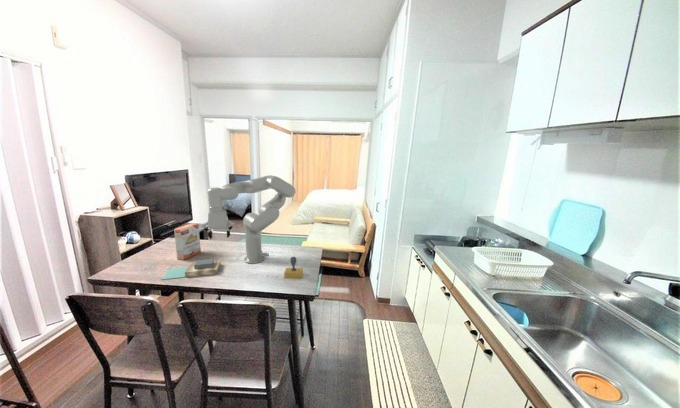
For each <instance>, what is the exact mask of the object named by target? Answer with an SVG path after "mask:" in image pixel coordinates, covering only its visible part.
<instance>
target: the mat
mask: <svg viewBox="0 0 680 408" xmlns="http://www.w3.org/2000/svg"><path fill="white" fill-rule="evenodd" d="M188 267H189V266H186V267H176V268H169V270H168V271H166V273H165V274H164V276H163V277H162V278H161V279H160V280H161V281H162V280H165V281H166V280H172V279H173V280H175V279H181V278H186V277H185V272H186V270H187V269H188Z"/></svg>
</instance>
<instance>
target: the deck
mask: <svg viewBox="0 0 680 408" xmlns="http://www.w3.org/2000/svg"><path fill="white" fill-rule="evenodd" d="M195 263H196V261H195V262H191V263H190V264H189V266H187V267H188V269H187V270H186V272H185V277H184V278H190V277H199V276H202V277H203V276H210V275H217V274H218V272H219V270H220V268H221V260H220V259H217V260H214V264H213V266H212V267H210V268H200V269H194V264H195Z"/></svg>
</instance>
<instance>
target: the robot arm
mask: <svg viewBox="0 0 680 408" xmlns="http://www.w3.org/2000/svg"><path fill="white" fill-rule="evenodd" d="M271 189H272V190H274V191H275V194H274V197H272V198H271V199H270V200H268V201H267V202H265V203H264V204H263V205H261V206H260V207H259V208H258V214H257V213H254V212H248V213H246V214H245V216H244V217H243V221H242V223H243V227H244V235H245V237H244V238H245V250H246V251H245V252H246V253H245V254H246V256H245V257H244V258H243V260H244V262H245V263H246V264H258V263H259V264H260V262H262V261H264V260H265V257H270V255H269V254H270V253H268V252H263V250H262V233H261V232H262V231H264V230H265V229H267V227H269V226H270V225H271V224H273V223H275V221H277V220H278V218H279V217H280V209H281V208H283V207H284V205H285V203H286V199H287V198H292V197H294V196H295V194H296V188H295V187H294V185H292V184H290V183H289V182H287V181H286V180H284V179H282V178H281V177H279V176H277V175H270V174H269V175H264V176H261V177H260V176H259V177H256V178H252V179H249V180H248V179H246V180H242V181H236V182H231V183H228V184H225V185H223V186H222V187H210V188H208V189H207V198H208V206H209V211H208V214H207V222H205V223H203V224H202V225H201V227H202V228H203V229H204V231H205V232H207V234H208V236H207V237H208V238H209V239H210V240H211V239H212V238H213V232H212V231H213V230H218V229H225V230H226V238H228V239H229V237H230V236H231V230H232V229H233V227H234V225H235V222H233V221H231V220H229V218H228V213H227V209H228V207H227V206H225V202H224V201H234V200H236V199H237V198H238V196H239V195H241V194H256V193H260V192H263V191H266V190H271ZM229 224H230V226H229Z"/></svg>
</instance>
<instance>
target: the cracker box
mask: <svg viewBox="0 0 680 408" xmlns="http://www.w3.org/2000/svg"><path fill="white" fill-rule="evenodd" d="M173 231H174V232H173V233H174V241H175V242H174V243H175V250H176V251H175V252H176V258H177V260H181V261H185V260H187V259H189V258H192V257H193V256H195V255H198V254H200V253H201V251H202V250H201V238H200V228H199V223H193V222H191V223H188V224H185V225H181V226H179V227H176V228H174V229H173Z"/></svg>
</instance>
